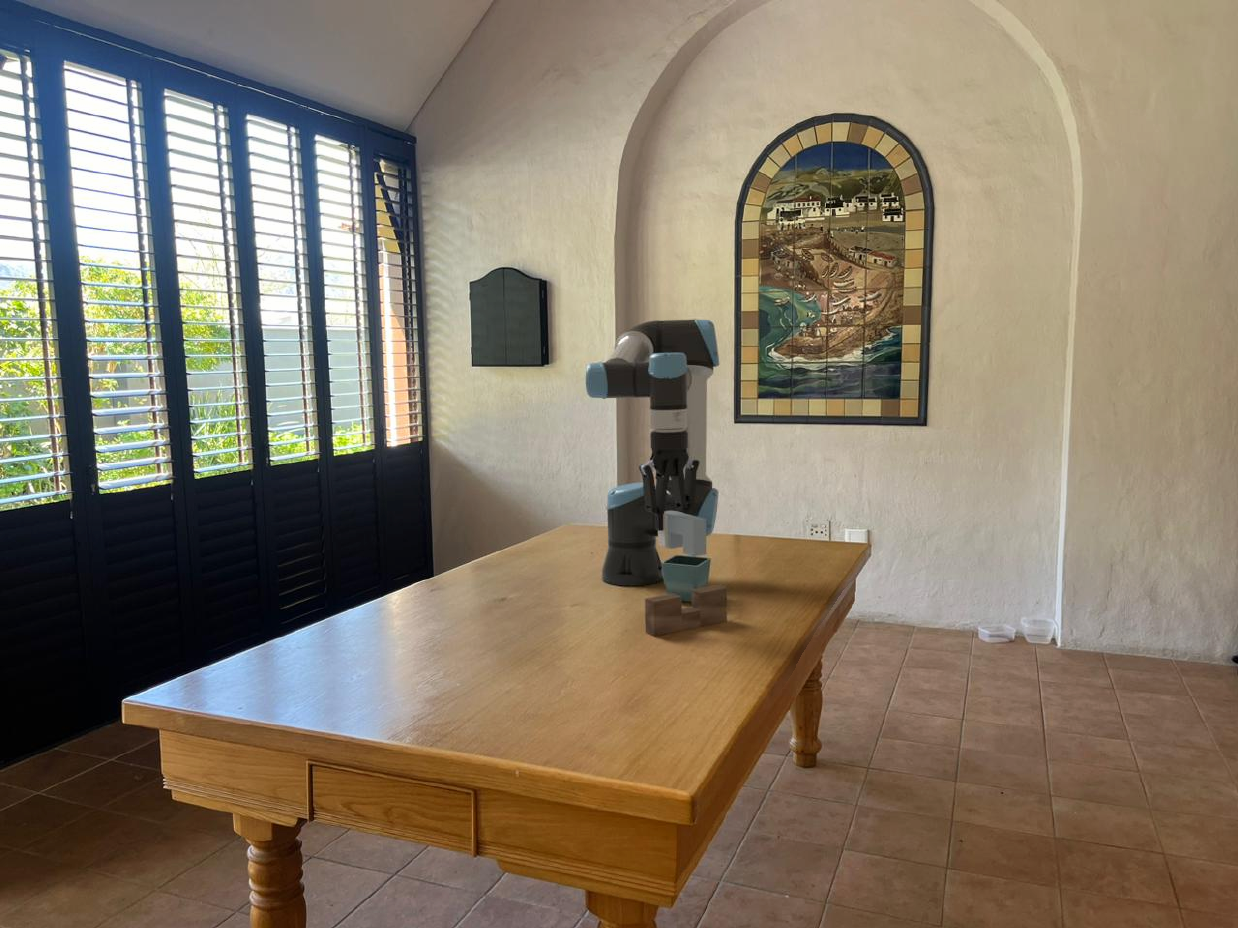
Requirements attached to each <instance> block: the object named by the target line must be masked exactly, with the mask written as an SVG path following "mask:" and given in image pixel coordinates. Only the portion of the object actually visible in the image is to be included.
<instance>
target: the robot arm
mask: <svg viewBox="0 0 1238 928" xmlns="http://www.w3.org/2000/svg"><path fill="white" fill-rule="evenodd" d="M715 328H716V327H715V324H714V323H713V321H711V320H710V319H697V318H694V319H672V320H671V319H670V320H669V319H668V320H651V321H650V320H649V321H645V322H641V323H638V324H637V325H634V326H632V327H631V328H629V329H626V330H625V331H624V332H622V334H620V335H619V337H618V338H617V339H616V341H615V344H614V350H613V351H612V353H611V354H610V355H609V357H608V358H607V360H605V362H602V361H599V362H592V363H589V364H588V365H587V367H586V369H585V388H586V393H587V395H588V396H589V397H590V398H593V399H602V400H606V399H623V398H624V399H625V398H626V399H627V398H629V399H630V398H637V399H639V398H649V427H650V430H652V431H651V432H650V433H649V435H650V451H651V455H650V457H649V460H648V462H647V461H646V463H640V464H639V466H638V470H639V471H640V473H641V476H642V482H633V483H627V484H623V485H622V484H621V485H619V486H616V487H613V488H611V489H610V490H609V492H608V493H607V506H606V510H607V541H608V542H607V543H608V546H607V552H606V555H605V557H604V558H605V559H604V561H603V565H602V569H601V579H602V581H603V582H605V583H608V584H611V585H617V586H643V585H644V586H645V585H651V584H655V583H658V582H661V581H662V580H664V578H663V570H662V561H661V559H660V558H661V557H660V555H659V551H658V549H657V545H658V546H661V547H663V548H666V547H668V515H666V514H664V513H665V511H676V512H680V513H684V514H688V515H692V516H696V517H700V518H703V519H706V537H709V536H711V534H713V531H714V528H715V524H716V519H717V513H718V512H717V511H718V504H719V502H718V500H719V490H718V489H717V488H715V487H713V480H711V479H710V478H709V476H708V475H707V429H708V428H707V425H708V423H707V422H708V421H707V418H708V413H707V412H708V411H707V410H708V402H707V401H708V379H710V378H711V377H712V376H713V375H714V368H717V367H718V366H719V365H720V359H719V358H720V357H719V351H718V350H719V349H718V343H717V342H718V341H717V336H716V329H715ZM654 471H655V476H654V473H653V472H654ZM655 481H656V482H655ZM682 538H683V536H682ZM656 542H657V544H656Z"/></svg>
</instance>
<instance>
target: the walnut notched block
mask: <svg viewBox="0 0 1238 928" xmlns="http://www.w3.org/2000/svg"><path fill="white" fill-rule="evenodd" d="M727 591H728V589H727V587H726V586H723V585H720V584H715V585H710V586H706V587H704V588H698V589H693V590H692V602H691V606H687V607H686V606H685V607H683V608H682V606H683V605H682V602H683V601H682V600H681V596H679V595H676V594H674V593H672V594H668V593H667V594H663V595H656V596H651V597H645V598H644V611H645V612H644V616H645V619H644V620H645V634H647V635H650V636H652V637H657V636H663V635H669V634H672V633H677V632H681V631H687V630H691V629H696V628H700V627H704V626H705V627H706V626H709V625H714V624H719V623H724V622H727V621H728V595H727V594H728V592H727Z"/></svg>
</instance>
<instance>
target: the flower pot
mask: <svg viewBox="0 0 1238 928" xmlns="http://www.w3.org/2000/svg"><path fill="white" fill-rule="evenodd" d="M711 560H712V558H711V557H704V556H691V555H683V554H682V555H681V554H675V555H673V556H671V557H669V558H668V559H666V560H664V561H661V563H662V570H663V583H664V587H665V590H666V592H667V594H672V593H674V594H676V595H679V596H681V600H682V602H687V603H688V602H689V603H692V590H693V589H698V588H704V587H707V585H708V581H709V577H710V568H711Z"/></svg>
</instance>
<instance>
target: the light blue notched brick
mask: <svg viewBox="0 0 1238 928" xmlns="http://www.w3.org/2000/svg"><path fill="white" fill-rule="evenodd" d="M664 514H666V515H668V547H665V548H666V549H670V550H672V549H679V548H682V553H683V554H685V555H687V556H695V557H701V556H704V555H707V536H706V519H703V518H700V517H696V516H692V515H688V514H684V513H680V512H676V511H665V513H664ZM682 536H683V538H682Z"/></svg>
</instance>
